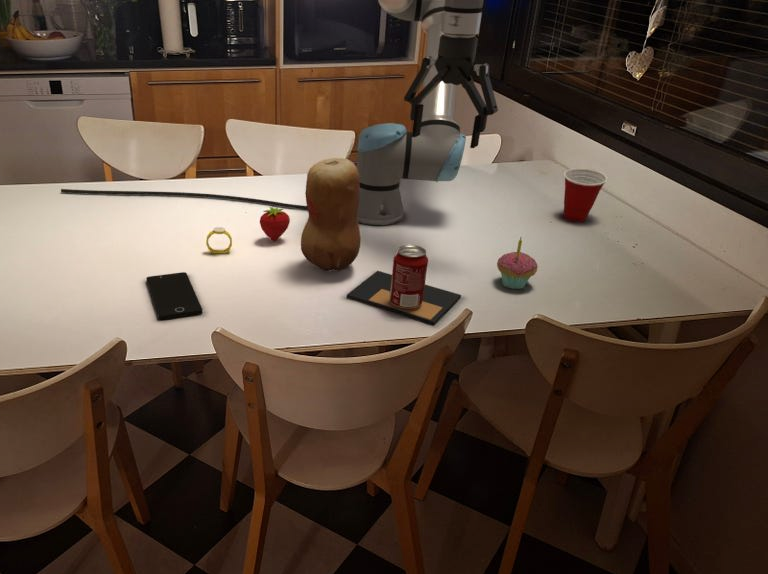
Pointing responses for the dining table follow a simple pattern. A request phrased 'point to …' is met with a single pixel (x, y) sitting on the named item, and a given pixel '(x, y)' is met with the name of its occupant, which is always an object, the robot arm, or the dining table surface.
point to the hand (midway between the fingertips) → (444, 141)
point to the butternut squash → (332, 215)
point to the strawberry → (274, 223)
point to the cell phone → (173, 295)
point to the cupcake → (516, 268)
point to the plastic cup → (581, 192)
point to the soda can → (408, 277)
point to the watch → (219, 231)
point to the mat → (428, 312)
